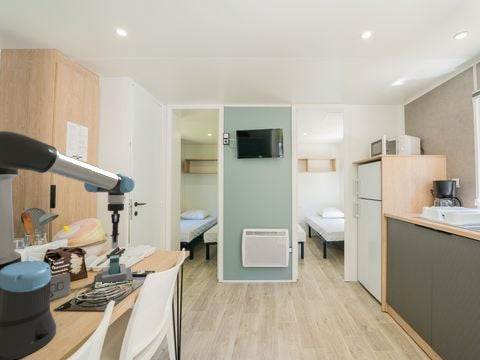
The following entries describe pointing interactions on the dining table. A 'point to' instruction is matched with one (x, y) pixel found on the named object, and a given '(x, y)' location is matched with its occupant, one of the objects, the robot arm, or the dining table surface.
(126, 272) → the socket
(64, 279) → the electrical switch
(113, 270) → the plug
